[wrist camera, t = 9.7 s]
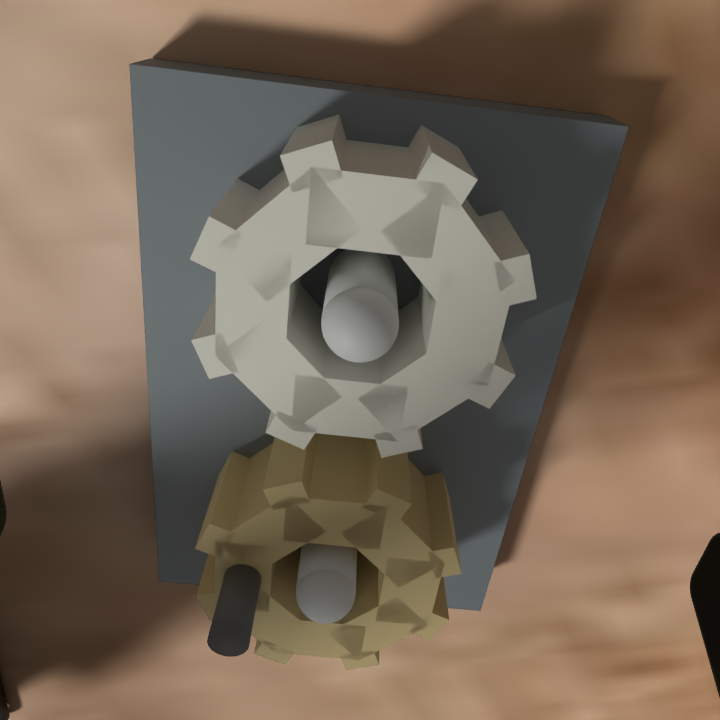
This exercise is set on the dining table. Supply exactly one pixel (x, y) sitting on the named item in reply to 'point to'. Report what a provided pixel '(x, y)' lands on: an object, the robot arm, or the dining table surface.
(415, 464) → the gear board
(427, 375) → the loose gear
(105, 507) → the dining table surface
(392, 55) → the dining table surface
